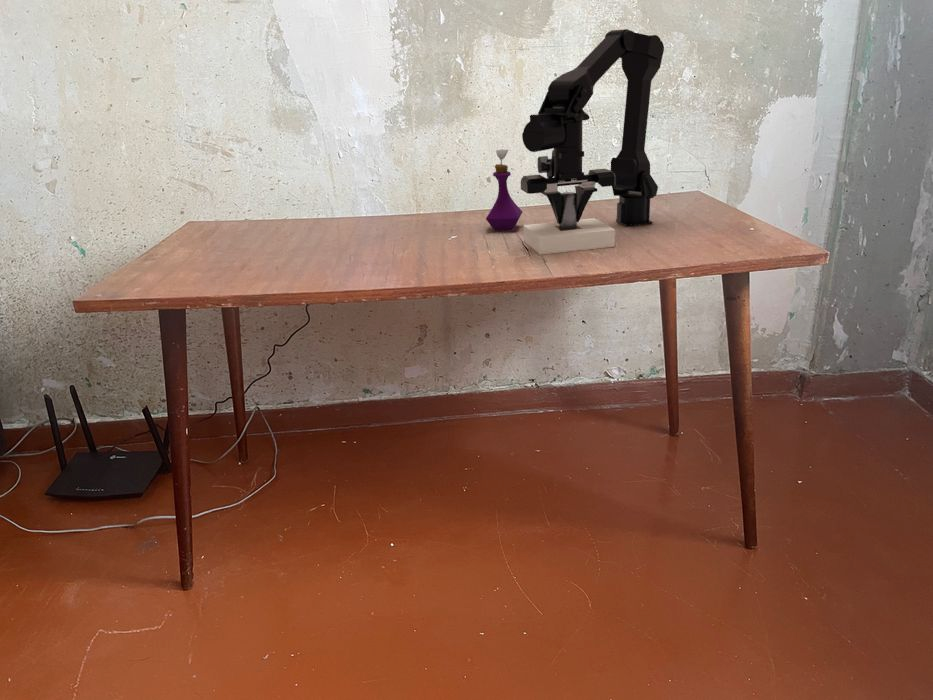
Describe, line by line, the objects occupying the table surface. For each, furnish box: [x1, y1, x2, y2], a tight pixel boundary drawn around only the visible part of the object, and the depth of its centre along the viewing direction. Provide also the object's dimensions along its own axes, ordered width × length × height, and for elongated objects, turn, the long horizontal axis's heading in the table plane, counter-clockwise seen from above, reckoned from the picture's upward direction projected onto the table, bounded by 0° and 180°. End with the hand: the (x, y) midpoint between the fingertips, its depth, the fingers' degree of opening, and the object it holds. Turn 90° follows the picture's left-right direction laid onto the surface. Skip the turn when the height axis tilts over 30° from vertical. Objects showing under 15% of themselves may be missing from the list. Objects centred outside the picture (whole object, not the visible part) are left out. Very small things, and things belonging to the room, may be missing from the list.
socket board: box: [523, 217, 616, 256], centre depth 149 cm, size 16×12×4 cm
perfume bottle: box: [485, 148, 523, 232], centre depth 162 cm, size 8×8×18 cm
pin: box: [559, 191, 577, 231], centre depth 147 cm, size 4×4×9 cm
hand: (568, 222), depth 148 cm, fingers closed on pin, 4 cm apart
